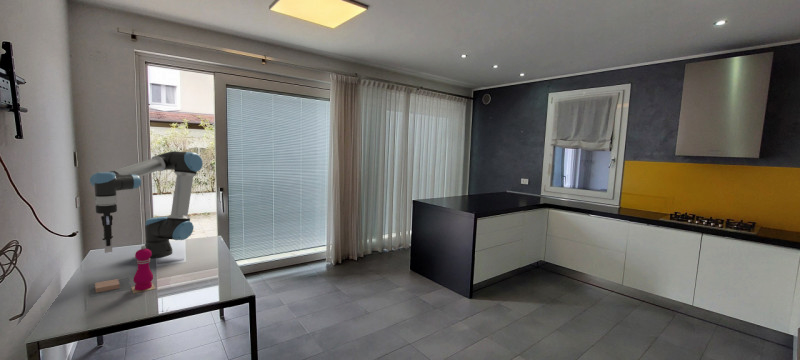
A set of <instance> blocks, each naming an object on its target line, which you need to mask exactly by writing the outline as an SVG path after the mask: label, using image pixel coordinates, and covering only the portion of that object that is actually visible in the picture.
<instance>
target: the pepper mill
mask: <svg viewBox="0 0 800 360" xmlns="http://www.w3.org/2000/svg"><path fill="white" fill-rule="evenodd" d="M151 255H152V252H151V250H149V249H146V246H145V245H142V246H141V248H140V249H138V250H137V251H136V252H135V253H134V256H135V258H136V264H137V270H136V272H135V273H134V277H133V280H132V281H133V283H134V284H135V285H134V286H135V290H145V289H149V288H151V287H152V283H153V282H152V281H153V279H154V274H153V272H152V271H151V267H150V262H151V258H150V257H151Z"/></svg>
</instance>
